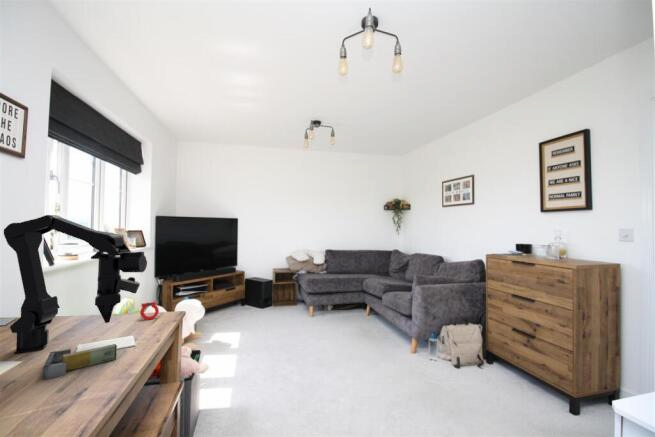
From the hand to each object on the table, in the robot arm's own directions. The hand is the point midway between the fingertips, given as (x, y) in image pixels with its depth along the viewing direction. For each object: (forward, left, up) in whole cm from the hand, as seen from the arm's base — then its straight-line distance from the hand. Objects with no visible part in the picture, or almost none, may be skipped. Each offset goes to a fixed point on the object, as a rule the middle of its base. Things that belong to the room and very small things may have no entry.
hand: (107, 320), depth 95 cm
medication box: (-3, -13, -9) cm, 16 cm away
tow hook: (+14, +27, -11) cm, 32 cm away
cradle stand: (-11, -11, -8) cm, 17 cm away
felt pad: (0, 0, -8) cm, 8 cm away
